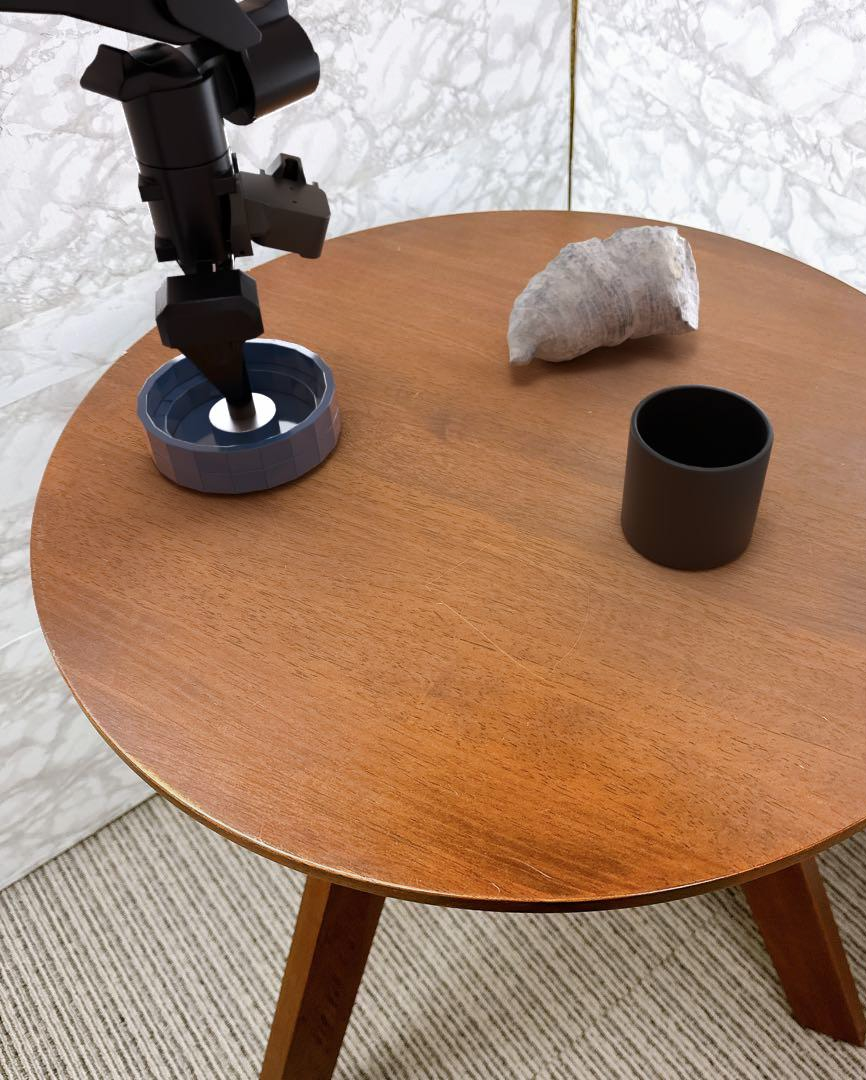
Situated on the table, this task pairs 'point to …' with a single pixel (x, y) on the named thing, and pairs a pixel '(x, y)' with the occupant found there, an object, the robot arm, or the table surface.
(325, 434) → the bowl
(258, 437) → the paper towel holder
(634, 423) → the black cup
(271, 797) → the table surface
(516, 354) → the seashell
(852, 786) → the table surface
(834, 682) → the table surface
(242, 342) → the robot arm
